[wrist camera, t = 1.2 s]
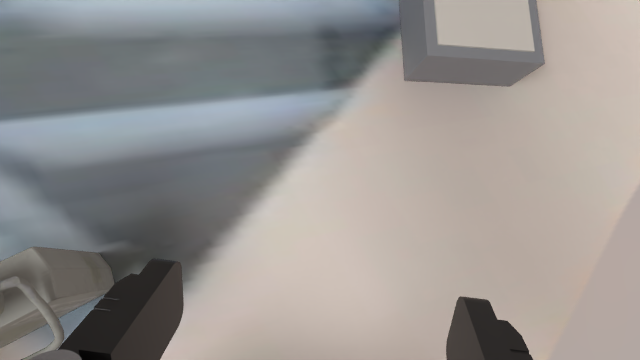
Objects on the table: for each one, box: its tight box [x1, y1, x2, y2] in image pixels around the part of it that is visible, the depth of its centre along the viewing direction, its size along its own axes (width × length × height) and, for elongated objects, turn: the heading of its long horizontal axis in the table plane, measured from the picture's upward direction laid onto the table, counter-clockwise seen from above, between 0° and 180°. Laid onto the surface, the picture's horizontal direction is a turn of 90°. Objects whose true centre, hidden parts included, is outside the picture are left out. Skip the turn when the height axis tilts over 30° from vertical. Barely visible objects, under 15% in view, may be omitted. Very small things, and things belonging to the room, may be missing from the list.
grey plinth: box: [399, 0, 545, 86], centre depth 40 cm, size 11×11×5 cm
